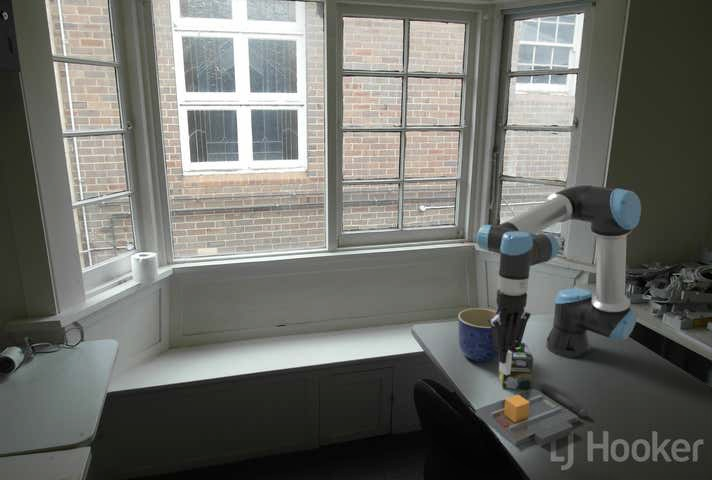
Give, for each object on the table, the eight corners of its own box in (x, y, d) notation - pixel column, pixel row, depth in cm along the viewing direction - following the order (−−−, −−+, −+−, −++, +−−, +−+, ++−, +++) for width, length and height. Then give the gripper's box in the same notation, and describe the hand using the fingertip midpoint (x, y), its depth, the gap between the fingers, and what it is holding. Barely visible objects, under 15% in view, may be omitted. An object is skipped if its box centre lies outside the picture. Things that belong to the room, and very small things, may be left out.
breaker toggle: (504, 414, 139) (505, 399, 138) (516, 409, 141) (518, 394, 140) (515, 422, 135) (516, 407, 134) (528, 417, 137) (529, 402, 136)
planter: (501, 371, 166) (504, 330, 162) (452, 362, 172) (454, 323, 168) (505, 349, 181) (509, 311, 177) (460, 342, 187) (462, 305, 183)
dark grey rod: (541, 393, 153) (541, 386, 152) (546, 391, 154) (547, 384, 153) (582, 419, 139) (583, 412, 139) (588, 417, 140) (588, 410, 140)
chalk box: (525, 375, 163) (528, 335, 159) (531, 390, 154) (535, 348, 150) (497, 374, 164) (500, 334, 160) (501, 388, 155) (505, 347, 151)
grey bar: (534, 441, 130) (535, 433, 130) (565, 428, 135) (566, 421, 135) (541, 446, 128) (541, 438, 128) (572, 433, 133) (573, 425, 133)
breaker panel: (475, 414, 142) (476, 407, 142) (534, 393, 153) (535, 386, 152) (515, 446, 128) (516, 438, 128) (577, 420, 139) (578, 413, 138)
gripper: (503, 299, 120) (496, 384, 125) (541, 291, 125) (532, 373, 131) (483, 290, 126) (476, 371, 132) (519, 283, 132) (512, 361, 138)
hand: (504, 372), depth 131 cm, fingers closed
